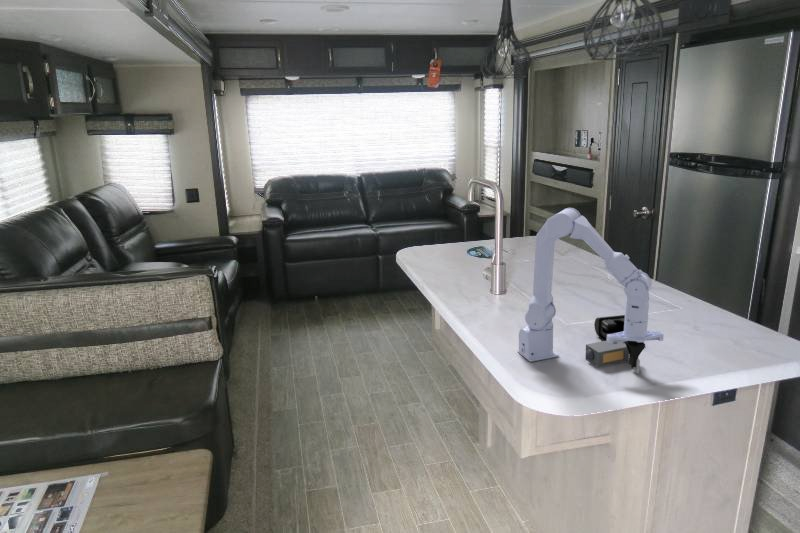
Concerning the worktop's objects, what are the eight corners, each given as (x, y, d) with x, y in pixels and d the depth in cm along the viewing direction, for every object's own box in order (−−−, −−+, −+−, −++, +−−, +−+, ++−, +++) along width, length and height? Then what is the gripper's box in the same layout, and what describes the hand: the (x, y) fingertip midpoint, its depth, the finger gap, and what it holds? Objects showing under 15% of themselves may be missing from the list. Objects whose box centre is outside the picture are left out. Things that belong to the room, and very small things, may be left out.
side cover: (639, 374, 152) (640, 359, 151) (636, 374, 152) (636, 359, 151) (633, 360, 160) (634, 346, 159) (630, 360, 160) (630, 346, 159)
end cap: (623, 331, 181) (624, 311, 179) (635, 340, 174) (636, 319, 172) (593, 334, 180) (594, 314, 178) (604, 343, 173) (605, 322, 171)
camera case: (595, 367, 157) (596, 351, 156) (583, 359, 163) (583, 343, 162) (628, 361, 160) (629, 344, 159) (615, 353, 166) (616, 337, 164)
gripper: (614, 325, 147) (612, 373, 150) (670, 322, 147) (666, 370, 150) (604, 316, 153) (602, 362, 157) (658, 313, 154) (654, 359, 157)
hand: (633, 365), depth 154 cm, fingers closed, pressing on side cover
